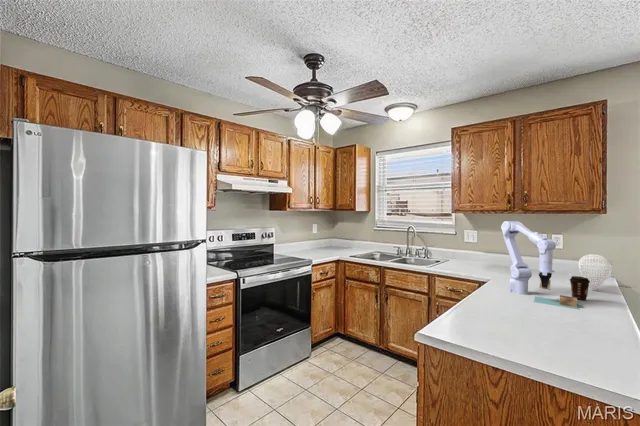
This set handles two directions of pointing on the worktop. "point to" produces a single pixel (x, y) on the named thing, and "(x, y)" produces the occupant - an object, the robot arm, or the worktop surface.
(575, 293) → the coffee cup
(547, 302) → the build board
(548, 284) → the maple block
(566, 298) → the walnut block
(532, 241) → the robot arm
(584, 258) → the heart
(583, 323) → the worktop surface
